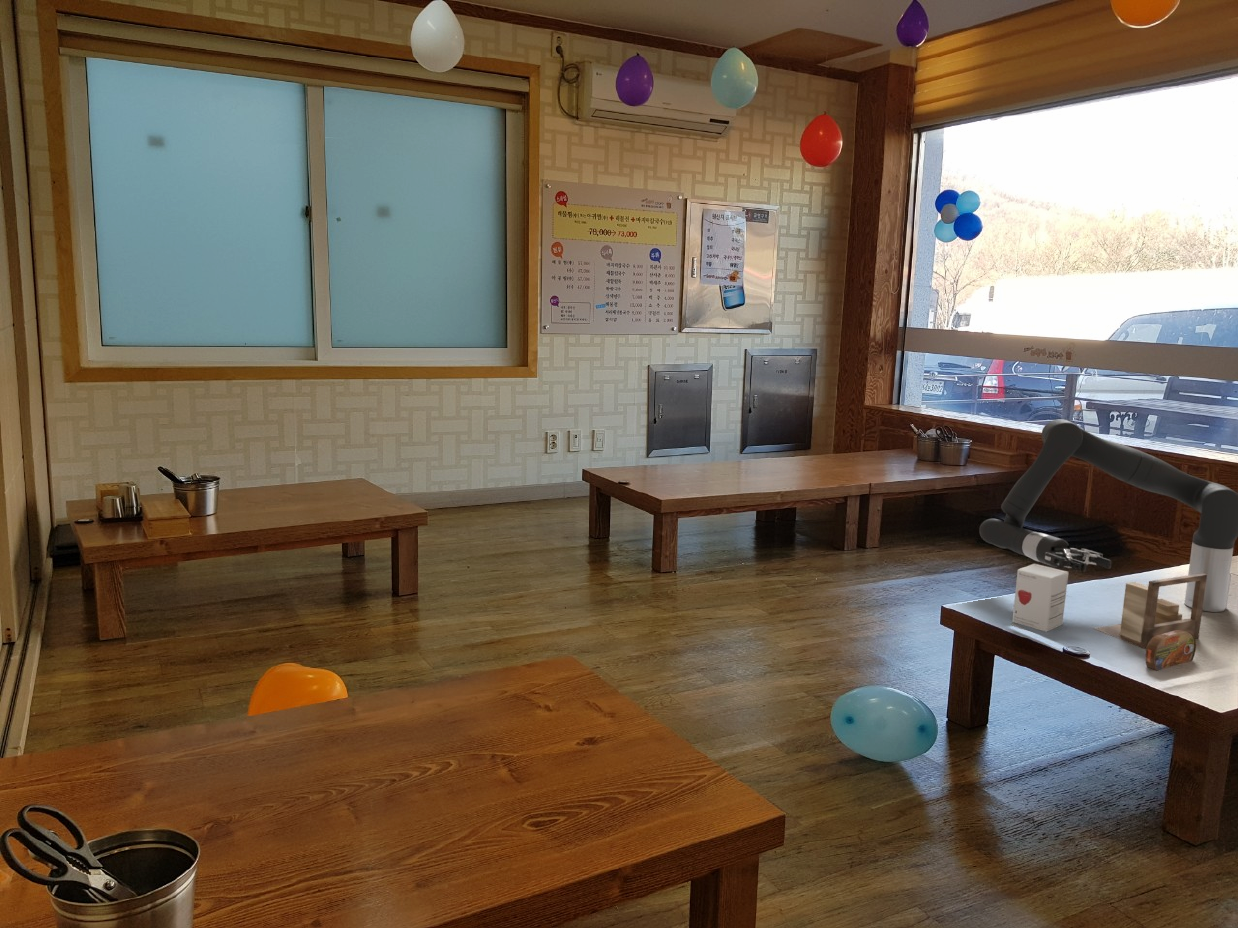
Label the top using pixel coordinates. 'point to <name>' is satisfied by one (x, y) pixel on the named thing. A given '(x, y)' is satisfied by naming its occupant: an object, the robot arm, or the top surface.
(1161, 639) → the tin
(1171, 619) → the offcut mid
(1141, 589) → the pale wooden block
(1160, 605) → the offcut top
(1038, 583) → the supplement box
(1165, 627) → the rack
